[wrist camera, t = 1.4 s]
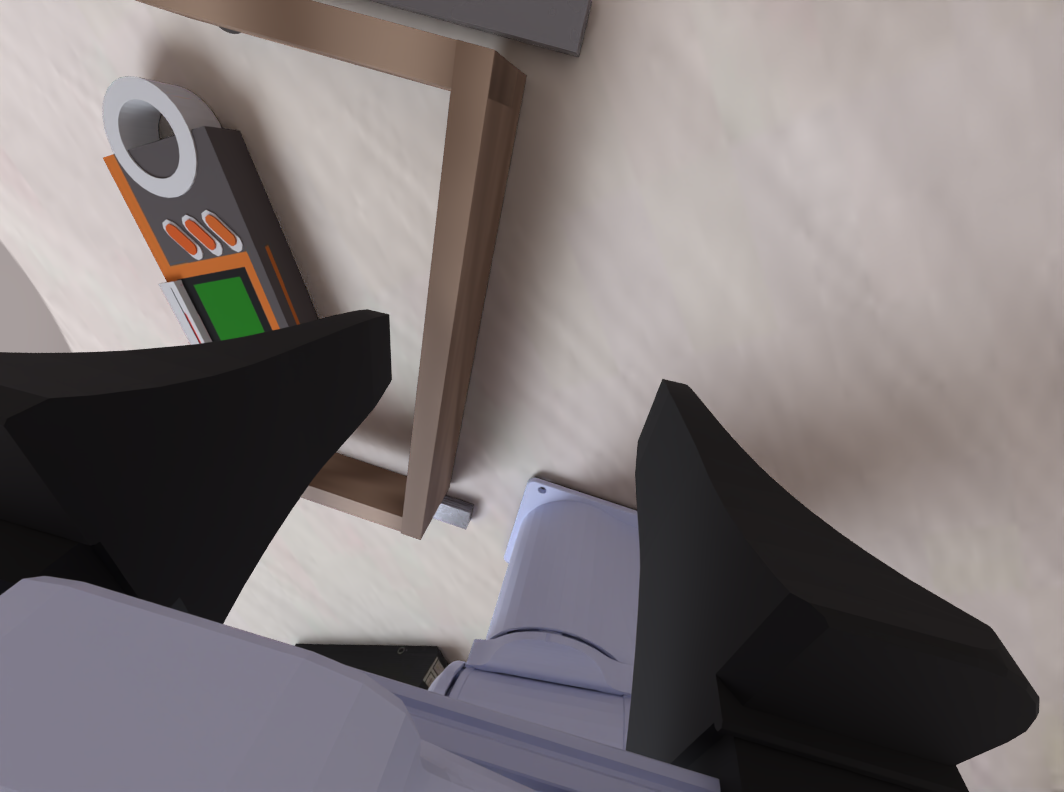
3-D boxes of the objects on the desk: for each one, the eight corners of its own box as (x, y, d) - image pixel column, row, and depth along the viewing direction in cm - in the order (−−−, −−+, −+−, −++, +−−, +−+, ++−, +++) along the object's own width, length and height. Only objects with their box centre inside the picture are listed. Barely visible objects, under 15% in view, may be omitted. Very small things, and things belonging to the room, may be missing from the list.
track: (591, 2, 15) (590, -6, 15) (469, 520, 29) (465, 529, 29) (-44, -166, 17) (-73, -180, 16) (132, 406, 31) (120, 412, 30)
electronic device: (166, 54, 17) (311, 393, 23) (228, 72, 20) (343, 372, 26) (55, 97, 19) (216, 401, 25) (125, 108, 21) (255, 381, 27)
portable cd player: (501, 738, 45) (491, 785, 42) (370, 726, 50) (351, 767, 47) (442, 641, 38) (424, 688, 35) (298, 639, 44) (270, 680, 40)
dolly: (527, 72, 16) (495, 45, 13) (449, 488, 28) (420, 541, 24) (216, -13, 17) (96, -63, 13) (266, 427, 29) (209, 468, 25)
